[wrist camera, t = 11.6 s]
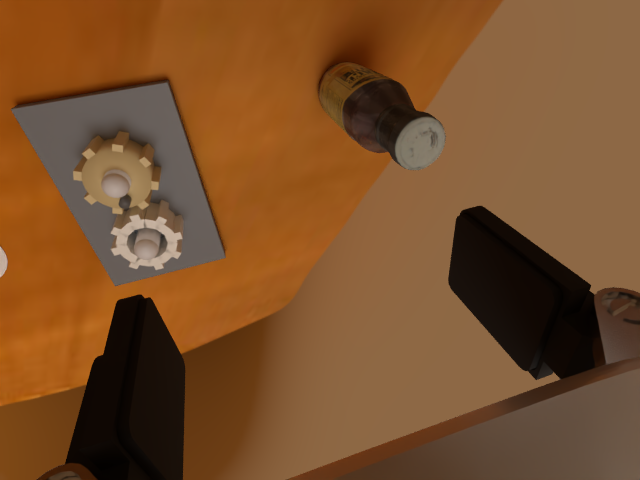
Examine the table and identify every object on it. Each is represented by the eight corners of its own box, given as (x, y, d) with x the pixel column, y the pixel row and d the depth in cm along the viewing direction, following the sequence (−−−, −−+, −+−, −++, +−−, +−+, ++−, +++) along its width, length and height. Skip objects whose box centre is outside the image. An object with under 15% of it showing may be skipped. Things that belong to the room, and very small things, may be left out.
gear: (104, 206, 40) (96, 224, 37) (171, 190, 41) (169, 207, 38) (131, 257, 45) (126, 277, 41) (191, 242, 46) (191, 260, 43)
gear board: (17, 105, 34) (-22, 128, 28) (168, 79, 37) (163, 96, 31) (117, 278, 47) (105, 321, 41) (224, 251, 50) (229, 287, 43)
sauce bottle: (372, 66, 42) (482, 109, 26) (357, 121, 45) (446, 189, 29) (319, 52, 39) (404, 90, 24) (306, 111, 42) (374, 179, 27)
